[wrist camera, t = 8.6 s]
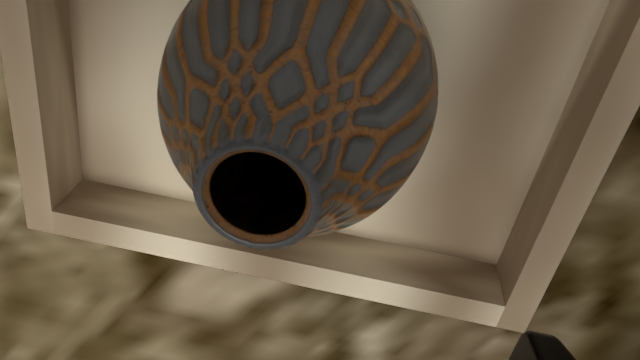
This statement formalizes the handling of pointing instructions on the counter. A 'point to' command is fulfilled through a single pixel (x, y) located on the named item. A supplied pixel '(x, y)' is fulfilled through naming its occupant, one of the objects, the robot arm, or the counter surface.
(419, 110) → the vase
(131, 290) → the counter surface
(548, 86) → the tray
